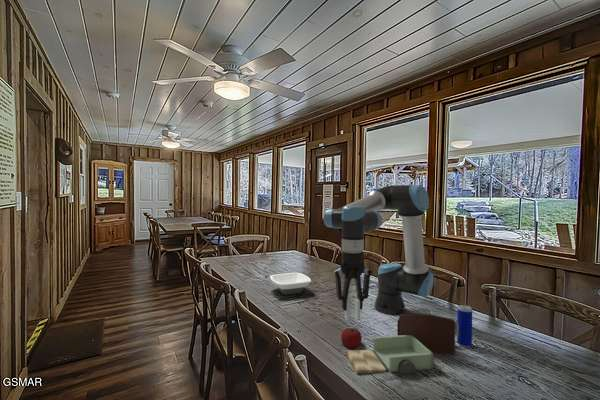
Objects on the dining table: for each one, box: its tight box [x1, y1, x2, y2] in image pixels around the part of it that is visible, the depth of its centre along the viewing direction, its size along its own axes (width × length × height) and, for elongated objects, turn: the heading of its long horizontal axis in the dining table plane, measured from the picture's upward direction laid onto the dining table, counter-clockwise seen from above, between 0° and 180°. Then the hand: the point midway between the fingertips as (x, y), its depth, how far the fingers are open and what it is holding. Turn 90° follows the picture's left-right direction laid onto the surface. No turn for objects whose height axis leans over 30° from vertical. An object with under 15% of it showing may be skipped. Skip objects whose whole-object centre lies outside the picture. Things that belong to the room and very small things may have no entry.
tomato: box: [340, 327, 362, 349], centre depth 117 cm, size 8×8×7 cm
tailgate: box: [345, 349, 390, 374], centre depth 104 cm, size 13×1×11 cm
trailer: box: [373, 335, 434, 376], centre depth 106 cm, size 18×15×6 cm
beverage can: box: [456, 304, 473, 348], centre depth 118 cm, size 5×5×15 cm
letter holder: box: [396, 313, 456, 357], centre depth 117 cm, size 10×20×14 cm, turn 75°
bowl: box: [269, 272, 312, 296], centre depth 182 cm, size 22×23×8 cm
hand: (352, 318), depth 103 cm, fingers open, 3 cm apart
